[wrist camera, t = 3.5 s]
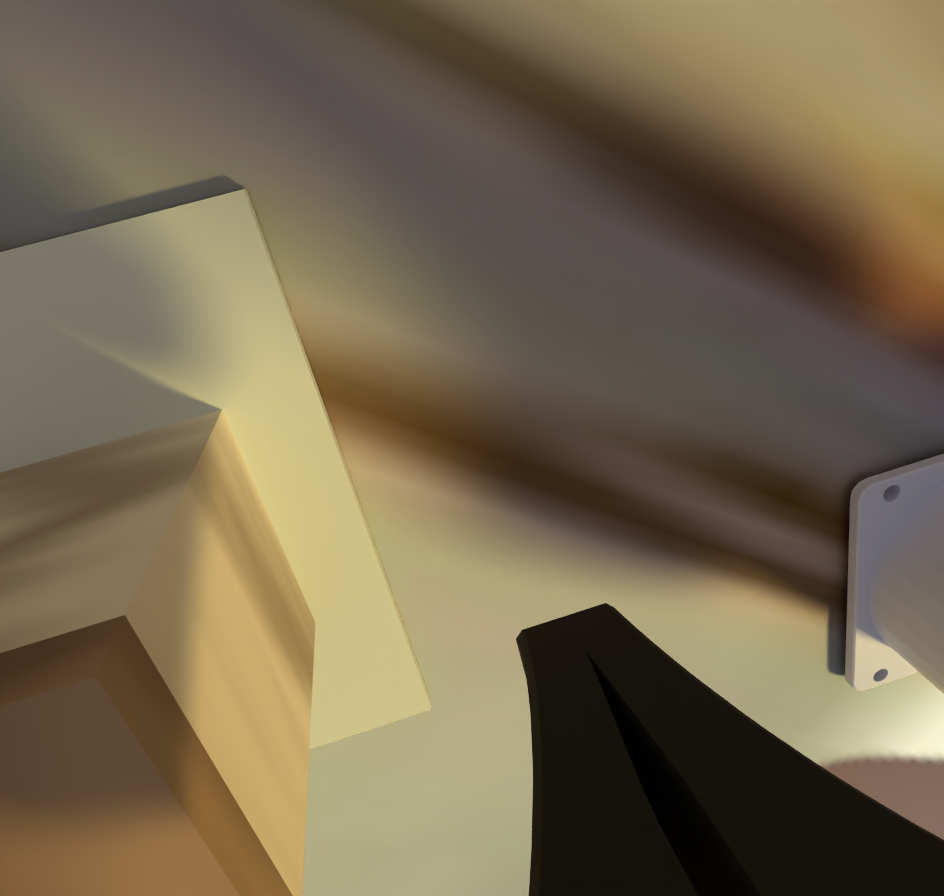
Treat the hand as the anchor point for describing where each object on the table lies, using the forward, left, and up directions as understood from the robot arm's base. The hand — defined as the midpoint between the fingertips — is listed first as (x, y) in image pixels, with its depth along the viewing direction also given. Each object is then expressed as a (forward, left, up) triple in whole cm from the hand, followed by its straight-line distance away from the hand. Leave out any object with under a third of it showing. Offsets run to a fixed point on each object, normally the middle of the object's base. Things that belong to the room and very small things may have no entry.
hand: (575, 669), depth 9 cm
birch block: (+8, 0, -7) cm, 11 cm away
